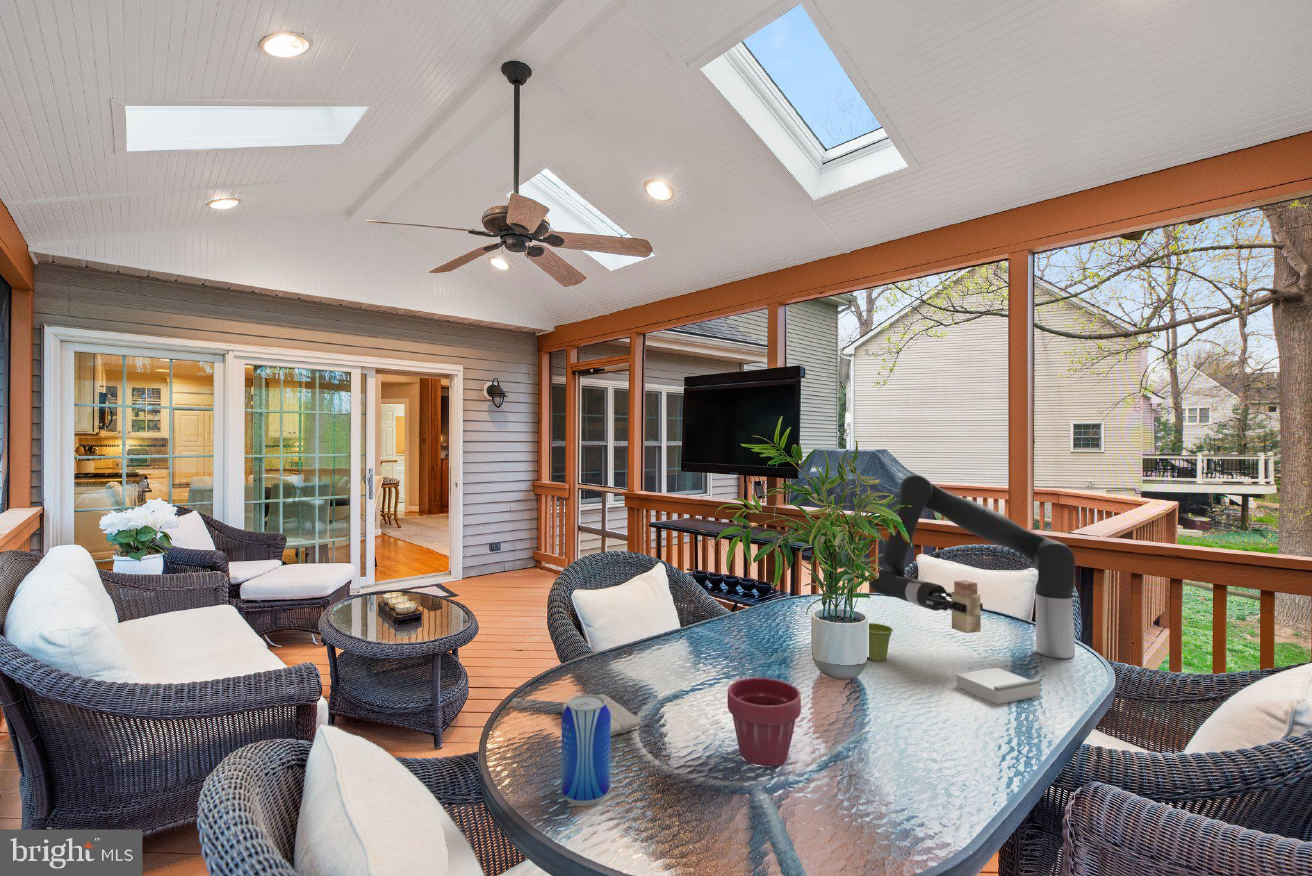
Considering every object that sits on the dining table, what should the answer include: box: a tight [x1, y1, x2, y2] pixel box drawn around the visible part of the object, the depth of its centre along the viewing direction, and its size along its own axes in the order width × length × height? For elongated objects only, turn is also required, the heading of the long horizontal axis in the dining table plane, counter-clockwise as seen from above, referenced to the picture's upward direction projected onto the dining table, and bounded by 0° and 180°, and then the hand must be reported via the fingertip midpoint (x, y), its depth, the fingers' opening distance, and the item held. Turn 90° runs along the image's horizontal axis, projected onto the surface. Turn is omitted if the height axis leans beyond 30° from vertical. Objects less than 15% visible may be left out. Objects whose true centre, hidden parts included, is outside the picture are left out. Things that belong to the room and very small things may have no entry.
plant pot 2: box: [868, 622, 894, 662], centre depth 181 cm, size 9×9×9 cm
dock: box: [955, 667, 1041, 705], centre depth 156 cm, size 14×12×4 cm
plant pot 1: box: [727, 677, 802, 767], centre depth 122 cm, size 14×14×13 cm
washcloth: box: [560, 694, 643, 735], centre depth 138 cm, size 12×18×3 cm, turn 35°
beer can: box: [560, 694, 612, 807], centre depth 108 cm, size 8×8×16 cm
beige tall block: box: [951, 579, 982, 634], centre depth 171 cm, size 5×5×13 cm
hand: (973, 608), depth 169 cm, fingers closed on beige tall block, 5 cm apart
